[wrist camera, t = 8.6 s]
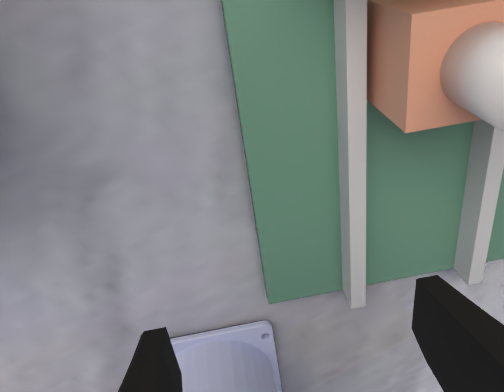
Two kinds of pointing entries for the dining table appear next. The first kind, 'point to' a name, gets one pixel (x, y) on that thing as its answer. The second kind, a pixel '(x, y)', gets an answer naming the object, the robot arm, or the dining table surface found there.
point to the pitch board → (351, 161)
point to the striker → (436, 62)
